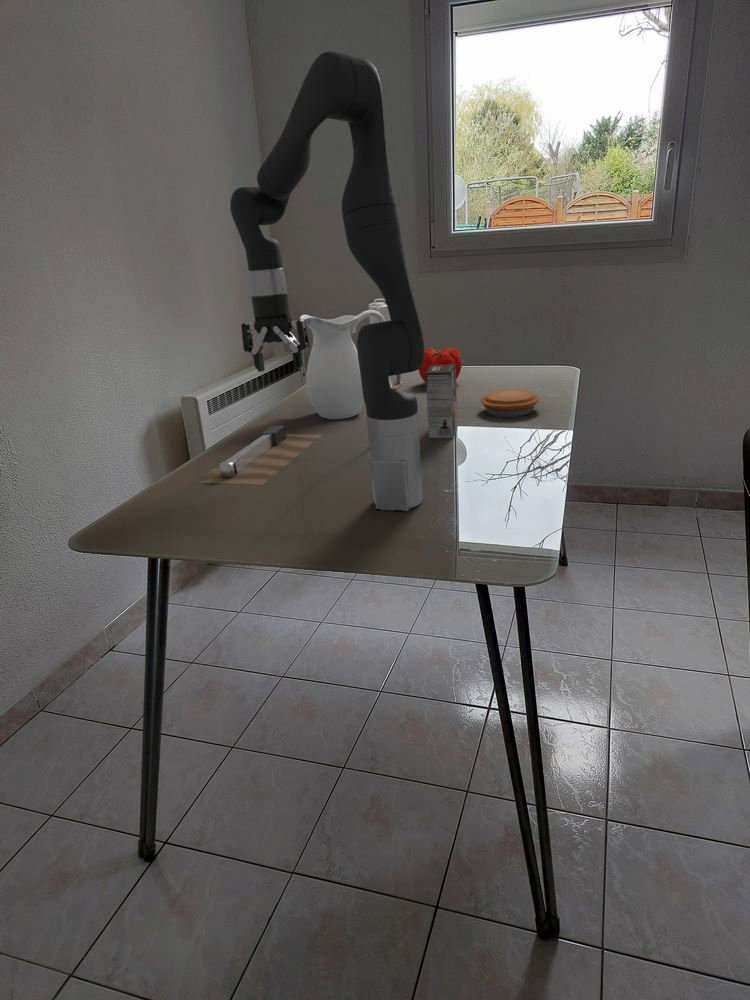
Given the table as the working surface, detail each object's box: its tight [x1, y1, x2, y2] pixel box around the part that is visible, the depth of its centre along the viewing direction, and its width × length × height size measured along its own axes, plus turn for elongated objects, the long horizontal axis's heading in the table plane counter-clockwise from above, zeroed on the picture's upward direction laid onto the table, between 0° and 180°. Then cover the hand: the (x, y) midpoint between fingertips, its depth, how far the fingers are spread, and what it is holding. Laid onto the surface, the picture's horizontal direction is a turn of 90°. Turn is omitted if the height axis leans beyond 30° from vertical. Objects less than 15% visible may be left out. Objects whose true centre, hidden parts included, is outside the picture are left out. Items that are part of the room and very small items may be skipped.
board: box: [194, 433, 323, 486], centre depth 153 cm, size 34×16×2 cm, turn 163°
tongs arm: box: [231, 425, 287, 473], centre depth 154 cm, size 25×2×3 cm, turn 164°
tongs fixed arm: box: [219, 425, 279, 479], centre depth 153 cm, size 28×3×3 cm, turn 163°
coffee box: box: [425, 364, 459, 439], centre depth 162 cm, size 9×6×16 cm
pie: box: [479, 389, 540, 418], centre depth 177 cm, size 15×16×5 cm
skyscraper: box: [368, 298, 403, 390], centre depth 210 cm, size 8×8×28 cm
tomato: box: [417, 347, 463, 384], centre depth 211 cm, size 13×14×12 cm
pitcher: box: [299, 309, 385, 420], centre depth 184 cm, size 24×17×28 cm
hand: (279, 370), depth 144 cm, fingers open, 8 cm apart
